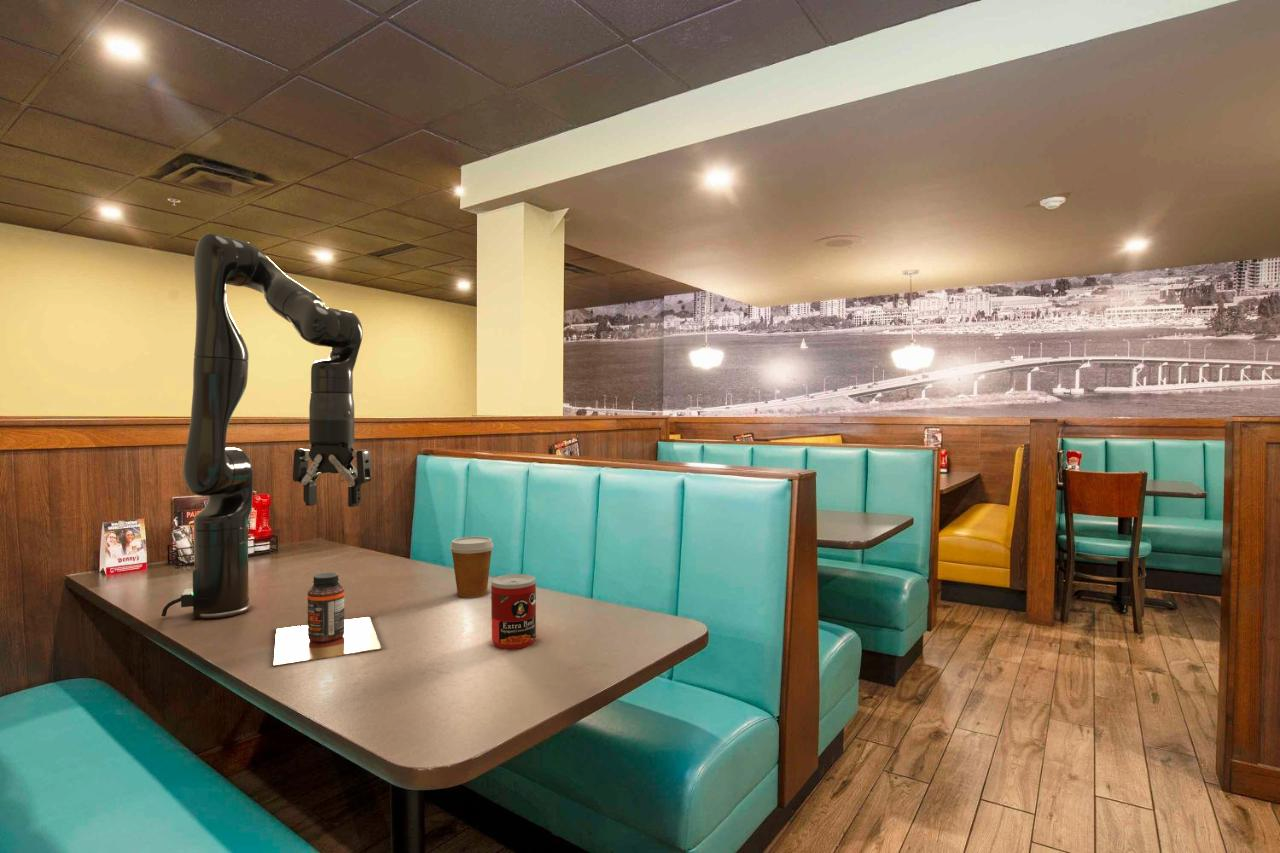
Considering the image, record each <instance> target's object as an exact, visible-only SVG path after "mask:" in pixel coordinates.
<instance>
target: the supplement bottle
mask: <svg viewBox="0 0 1280 853" xmlns="http://www.w3.org/2000/svg"><path fill="white" fill-rule="evenodd" d="M339 581H340V579H339V573H337V572H332V571H331V572H329V571H328V572H321V573H316V574H314V575H313V582H312V583H313V585H312V587H310V588H309V589H308V591H307V625H308V639H309V640H310V641H312V642H319V643H323V642H330V641H334V640H337V639H339V638H341V637H342V636H343V635H344V630H345V629H344V628H345V625H344V624H345V621H344V620H346V619H345V587H344V586H343V585H342V584H340V583H339Z"/></svg>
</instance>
